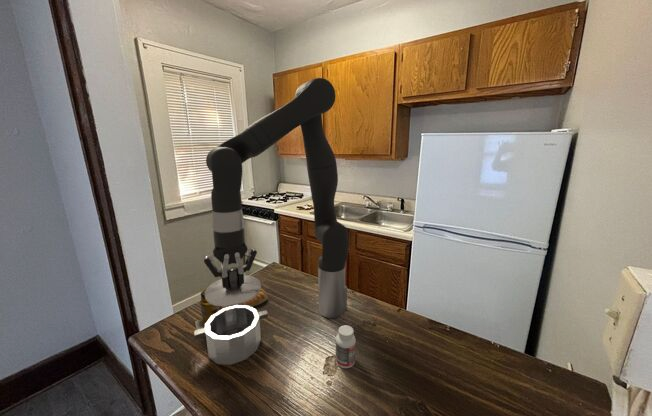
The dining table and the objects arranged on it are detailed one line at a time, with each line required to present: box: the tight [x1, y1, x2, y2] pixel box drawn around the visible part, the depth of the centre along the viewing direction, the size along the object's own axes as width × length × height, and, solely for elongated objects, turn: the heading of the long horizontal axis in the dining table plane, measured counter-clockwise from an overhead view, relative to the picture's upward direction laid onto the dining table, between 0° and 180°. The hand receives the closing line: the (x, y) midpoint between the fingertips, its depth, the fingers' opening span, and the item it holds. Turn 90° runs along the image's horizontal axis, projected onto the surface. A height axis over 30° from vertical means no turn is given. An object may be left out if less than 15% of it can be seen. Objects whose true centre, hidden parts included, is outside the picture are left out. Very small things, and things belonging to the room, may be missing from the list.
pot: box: [193, 304, 269, 366], centre depth 73 cm, size 20×14×8 cm
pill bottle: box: [334, 324, 357, 369], centre depth 67 cm, size 5×5×10 cm
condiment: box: [194, 287, 223, 330], centre depth 81 cm, size 7×8×12 cm
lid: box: [205, 266, 262, 308], centre depth 68 cm, size 14×14×8 cm
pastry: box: [241, 288, 269, 308], centre depth 94 cm, size 9×7×4 cm
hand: (233, 286), depth 69 cm, fingers closed on lid, 3 cm apart
